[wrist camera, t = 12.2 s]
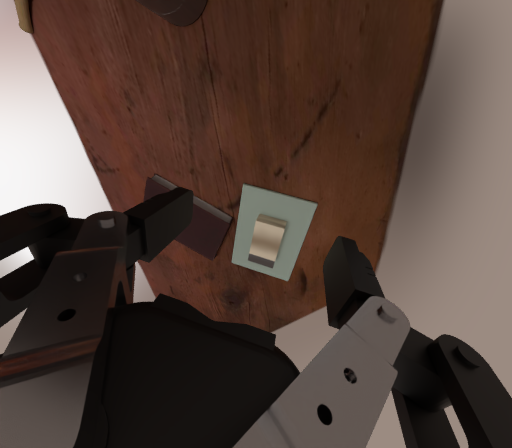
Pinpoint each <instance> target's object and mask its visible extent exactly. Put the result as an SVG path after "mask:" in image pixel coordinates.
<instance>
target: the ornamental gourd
mask: <svg viewBox="0 0 512 448" xmlns="http://www.w3.org/2000/svg"><path fill="white" fill-rule="evenodd" d="M14 1H15V5H16V10H17V14H18V18H19V26H20V28H21V29H22V30H24V31H25V32H28V33H33V28H32V24H31V19H30V13H29V4H28V0H14Z"/></svg>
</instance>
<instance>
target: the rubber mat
mask: <svg viewBox="0 0 512 448" xmlns="http://www.w3.org/2000/svg"><path fill="white" fill-rule="evenodd" d="M317 204H318V203H316V202H312V201H308V200H304V199H301V198H297V197H293V196H290V195H286V194H282V193H278V192H275V191H271V190H267V189H264V188H260V187H256V186H253V185H249V184H245V183H244V184H243V189H242V196H241V203H240V209H239V216H238V223H237V230H236V236H235V243H234V250H233V256H232V263H235V264H238V265H241V266H244V267H247V268H250V269H253V270H256V271H259V272H262V273H265V274H268V275H271V276H274V277H277V278H280V279H283V280H286V281H288V280H289V278H290V275H291V272H292V270H293V267H294V265H295V262H296V259H297V257H298V254H299V251H300V249H301V246H302V244H303V241H304V238H305V236H306V233H307V231H308V228H309V225H310V223H311V220H312V217H313V215H314V212H315V210H316V207H317ZM259 214H263V215H266V216H270V217H273V218H277V219H280V220H284V221H287V223H286V226H285V230H284V233H283V236H282V240H281V243H280V246H279V250H278V253H277V256H276V260H275V263H274V266H273V269H272V268H269V267H266V266H263V265H260V264H257V263H254V262H251V261H248V257H249V252H250V247H251V242H252V237H253V232H254V227H255V222H256V219H257V218H258V216H259Z"/></svg>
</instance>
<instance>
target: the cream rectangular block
mask: <svg viewBox="0 0 512 448" xmlns="http://www.w3.org/2000/svg"><path fill="white" fill-rule="evenodd" d="M286 223H287V221H284V220H280V219H277V218H273V217H270V216H266V215H263V214H259V216H258V218H257V219H256V222H255V227H254V232H253V237H252V242H251V247H250V252H249V257H248V261H251V262H254V263H257V264H260V265H263V266H266V267H269V268H272V269H273V266H274V263H275V260H276V256H277V253H278V250H279V246H280V243H281V240H282V236H283V233H284V230H285V226H286Z"/></svg>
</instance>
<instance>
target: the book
mask: <svg viewBox="0 0 512 448" xmlns="http://www.w3.org/2000/svg"><path fill="white" fill-rule="evenodd" d="M176 187H177V186H175V185H174V184H172V183H170V182H169V181H167V180H166V179H164V178H162V177H160V176H159V175H157V174H154V177H152V178H149V177H148V178H147V181H146V187H145V195H144V201H146V200H148V199H150V198H152V197H153V196H155V195H157V194H161V193H166V192H169V191H171V190H173V189H174V188H176ZM144 201H143V203H144ZM232 220H233V217H231V216H230V215H228V214H227V213H225V212H223V211H221V210H219V209H217V208H216V207H214V206H212V205H210V204H208V203H206V202H204V201H203V200H201V199H199V198H197V197H195V196H194V197H193V216H192V220H191V223H190V224H189V226H188V227H187V228H186V229H184V230H183V231H182V232H181V233H180V234H179V235H178V236H177V237H176V238H175V239H174V240H176V241H178V242H180V243H182V244H184V245H185V246H187V247H188V248H190V249H192V250H194V251H195V252H197V253H199V254H201V255H203V256H204V257H206V258H208V259H210V260H212V261H213V259H214V258H215V257H216V255H217V254H216V253H217V251H218V248H219V247H220V246H221V244H222V242H223V240H224V238H225V236H226V233H227V231H228V229H229V227H230V225H231V223H232Z"/></svg>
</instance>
